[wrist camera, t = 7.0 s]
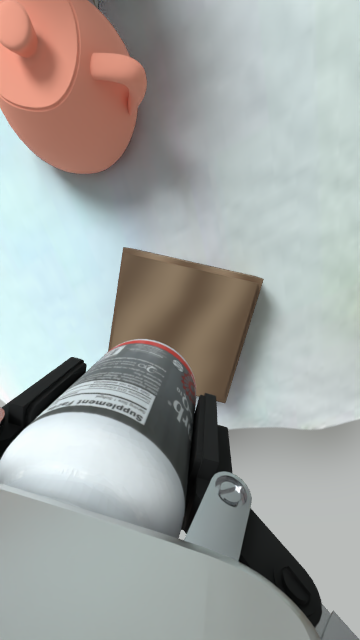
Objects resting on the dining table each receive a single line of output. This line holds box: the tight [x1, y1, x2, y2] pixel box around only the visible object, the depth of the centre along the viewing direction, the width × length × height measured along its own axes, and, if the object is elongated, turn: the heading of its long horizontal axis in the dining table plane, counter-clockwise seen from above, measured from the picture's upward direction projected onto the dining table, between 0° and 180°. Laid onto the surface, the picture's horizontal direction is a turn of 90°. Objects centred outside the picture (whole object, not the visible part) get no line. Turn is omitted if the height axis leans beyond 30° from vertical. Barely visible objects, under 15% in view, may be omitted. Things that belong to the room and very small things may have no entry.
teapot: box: [0, 0, 147, 174], centre depth 20 cm, size 12×18×10 cm
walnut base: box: [108, 247, 264, 403], centre depth 26 cm, size 14×14×4 cm
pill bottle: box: [0, 339, 196, 538], centre depth 9 cm, size 6×6×10 cm
